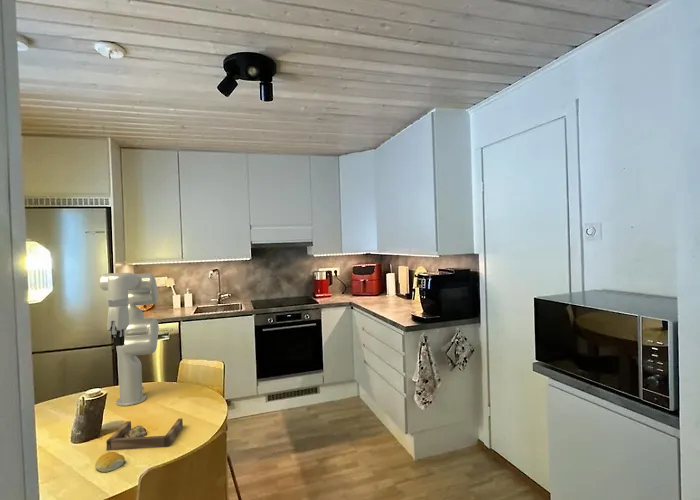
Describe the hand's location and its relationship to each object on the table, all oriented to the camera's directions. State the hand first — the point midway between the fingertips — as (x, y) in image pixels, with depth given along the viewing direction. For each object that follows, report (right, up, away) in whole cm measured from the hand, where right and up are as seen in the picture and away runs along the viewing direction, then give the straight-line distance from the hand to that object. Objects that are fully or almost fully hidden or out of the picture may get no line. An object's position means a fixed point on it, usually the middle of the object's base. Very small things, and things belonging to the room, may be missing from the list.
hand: (119, 345), depth 172 cm
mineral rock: (+15, -33, -15) cm, 39 cm away
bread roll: (+17, -33, -35) cm, 51 cm away
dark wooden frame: (+20, -32, -17) cm, 41 cm away
